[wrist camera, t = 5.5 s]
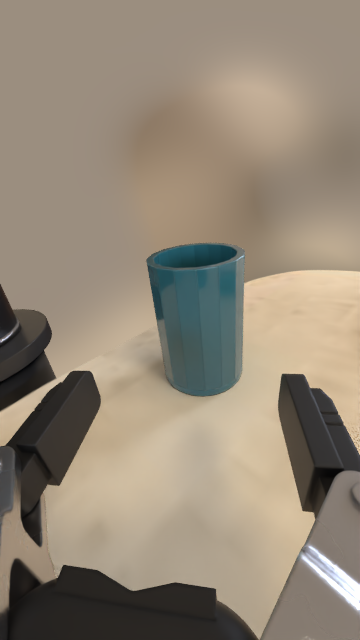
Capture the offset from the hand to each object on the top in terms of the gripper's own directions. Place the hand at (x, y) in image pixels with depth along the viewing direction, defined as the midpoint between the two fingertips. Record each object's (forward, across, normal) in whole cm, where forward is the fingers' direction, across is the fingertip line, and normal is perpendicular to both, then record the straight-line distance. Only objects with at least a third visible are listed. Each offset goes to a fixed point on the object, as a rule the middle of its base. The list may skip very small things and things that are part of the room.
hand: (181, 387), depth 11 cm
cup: (+9, 0, +7) cm, 12 cm away
